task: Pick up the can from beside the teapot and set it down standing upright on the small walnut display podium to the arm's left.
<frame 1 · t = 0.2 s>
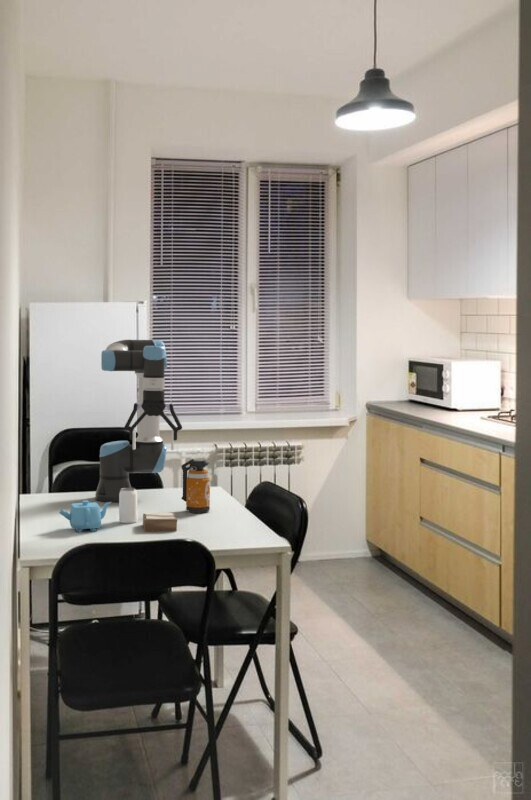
hand: (153, 449, 320), 27 cm above the table, fingers open, 13 cm apart
teapot: (85, 529, 313), on the table
canister: (195, 511, 346), on the table
podium: (159, 527, 316), on the table
can: (128, 522, 325), on the table
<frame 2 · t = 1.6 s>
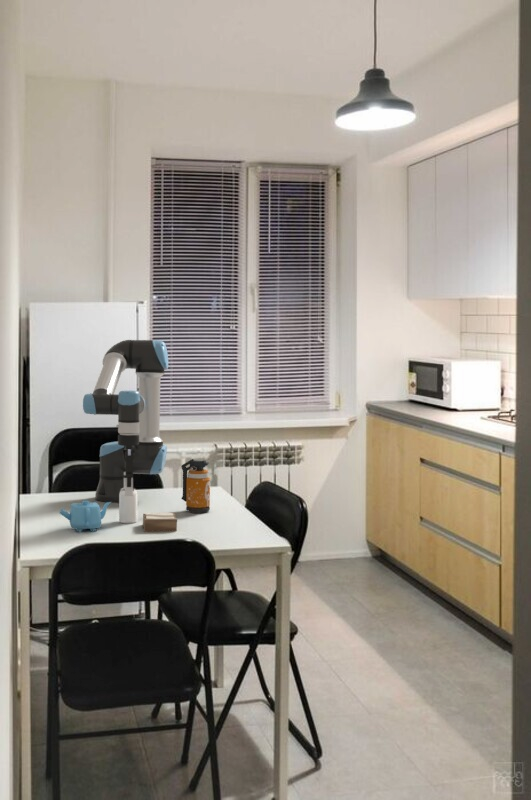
hand: (128, 492, 324), 11 cm above the table, fingers open, 13 cm apart
nothing on the table moved.
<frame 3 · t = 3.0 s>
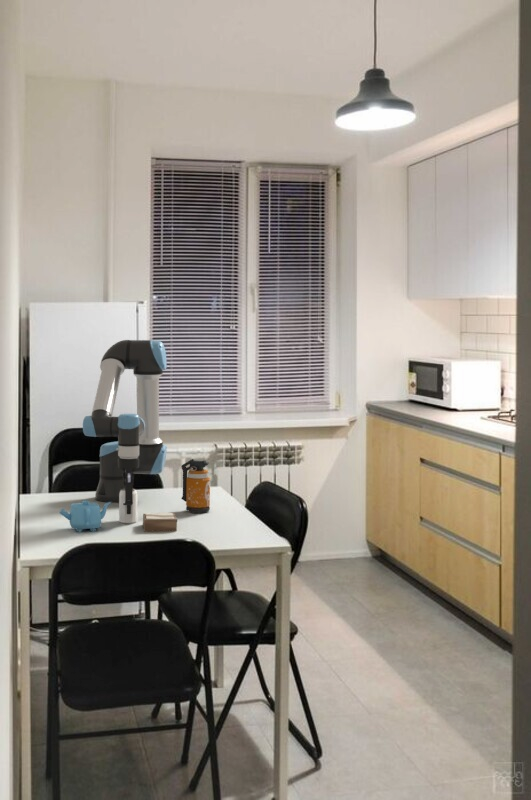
hand: (128, 520, 325), 0 cm above the table, fingers closed on can, 6 cm apart
can: (128, 522, 325), on the table, touching gripper
everything else where it was.
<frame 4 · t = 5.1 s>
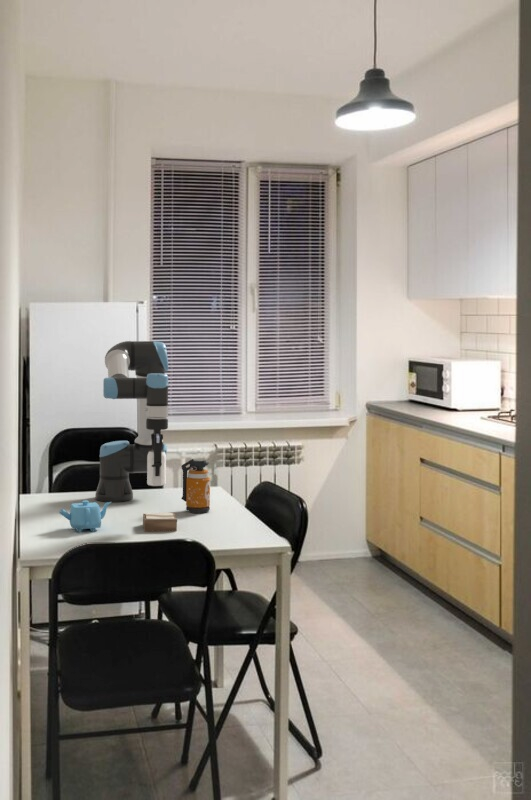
hand: (156, 483, 315), 16 cm above the table, fingers closed on can, 6 cm apart
can: (156, 485, 315), point 15 cm above the table, touching gripper
everything else where it was.
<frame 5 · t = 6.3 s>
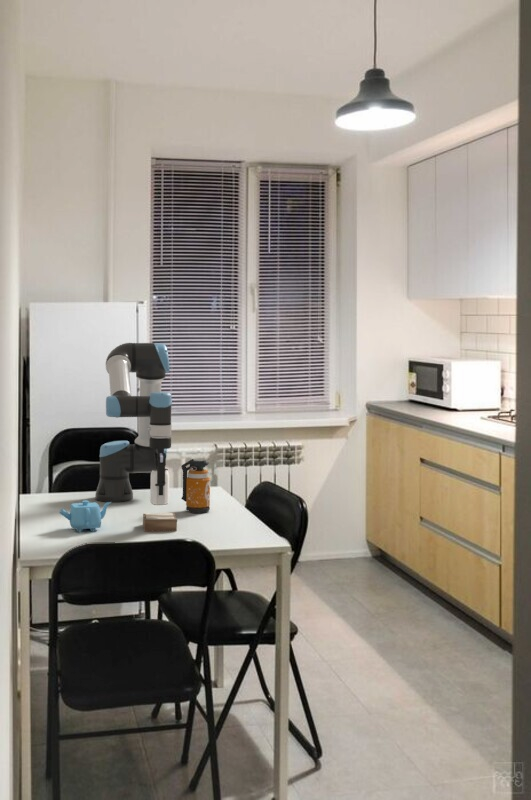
hand: (159, 502, 316), 9 cm above the table, fingers closed on can, 6 cm apart
can: (159, 504, 316), point 8 cm above the table, touching gripper
everything else where it was.
when the fingers open (6 cm above the table, at t = 7.2 s): can drops 1 cm, resting on podium.
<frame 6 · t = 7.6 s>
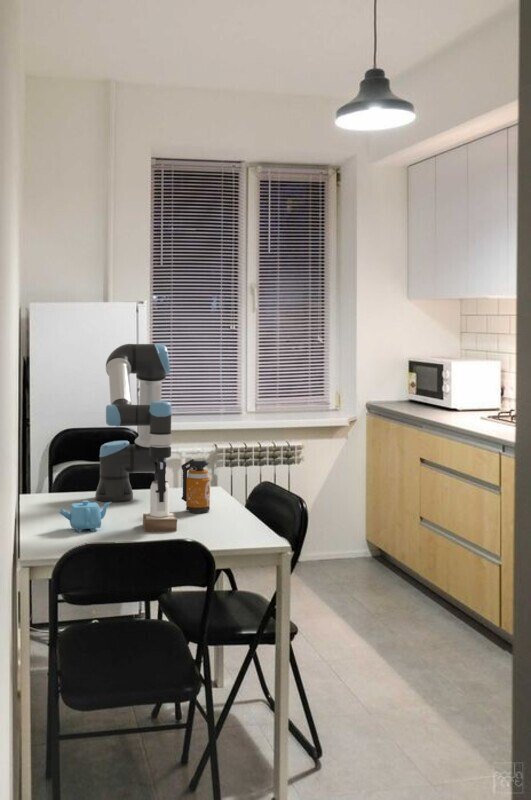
hand: (159, 507, 316), 7 cm above the table, fingers open, 11 cm apart
can: (159, 516, 316), point 4 cm above the table, touching podium
everything else where it was.
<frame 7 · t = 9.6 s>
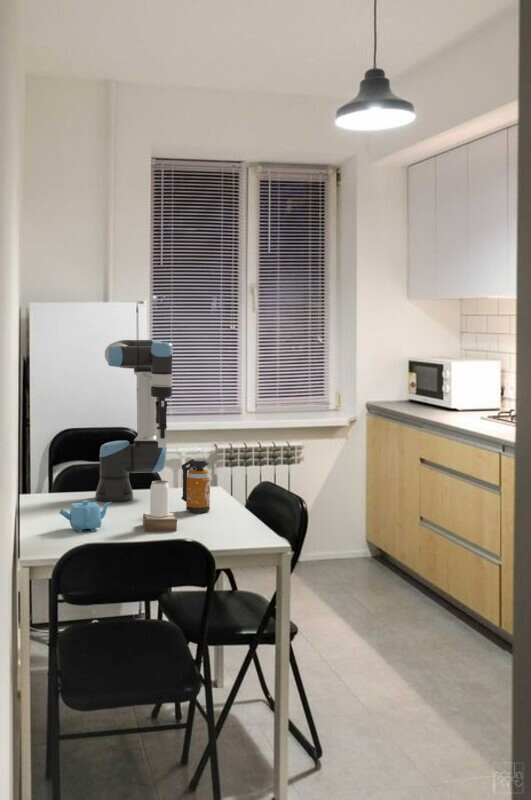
hand: (160, 444, 325), 28 cm above the table, fingers open, 13 cm apart
nothing on the table moved.
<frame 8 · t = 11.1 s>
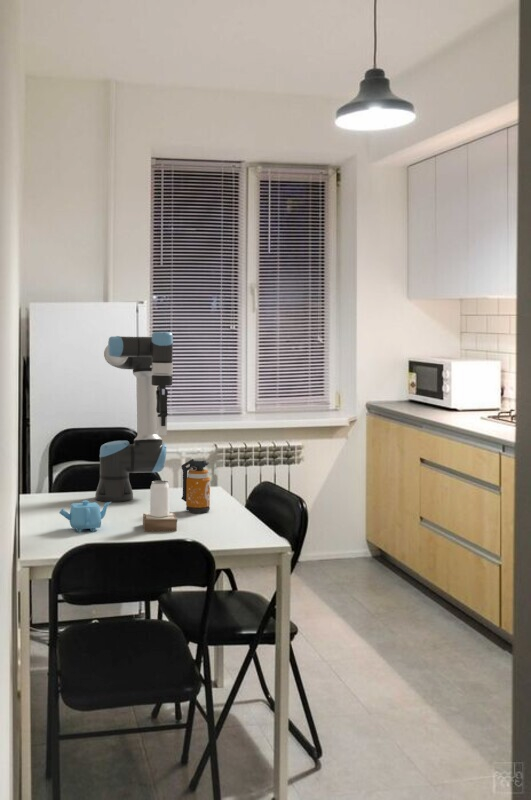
hand: (161, 432, 329), 32 cm above the table, fingers open, 13 cm apart
nothing on the table moved.
at the end: can inside the target area on the podium (0.0 cm from its centre), point 4.1 cm above the podium's base; can tilted 0°; the gripper is holding nothing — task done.
